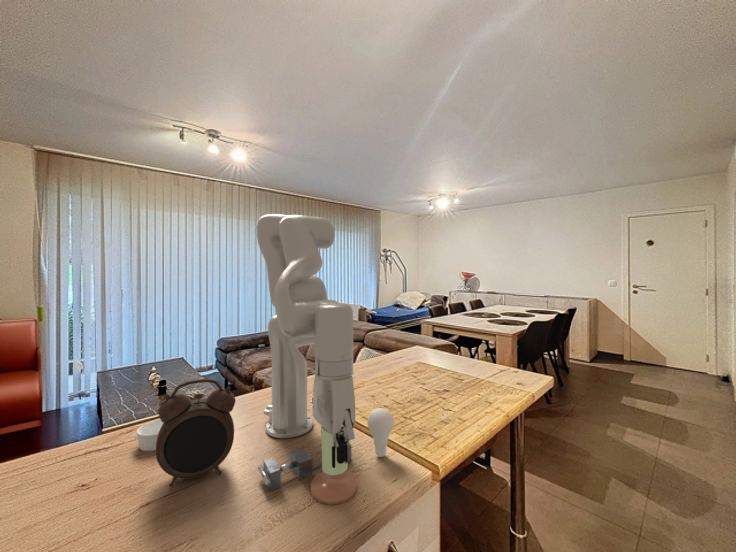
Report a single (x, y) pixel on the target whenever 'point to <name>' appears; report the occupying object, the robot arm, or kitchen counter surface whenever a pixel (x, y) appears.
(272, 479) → the vise
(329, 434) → the candle
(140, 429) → the ramekin
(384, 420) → the lightbulb
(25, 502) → the kitchen counter surface
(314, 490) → the coaster
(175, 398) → the alarm clock
